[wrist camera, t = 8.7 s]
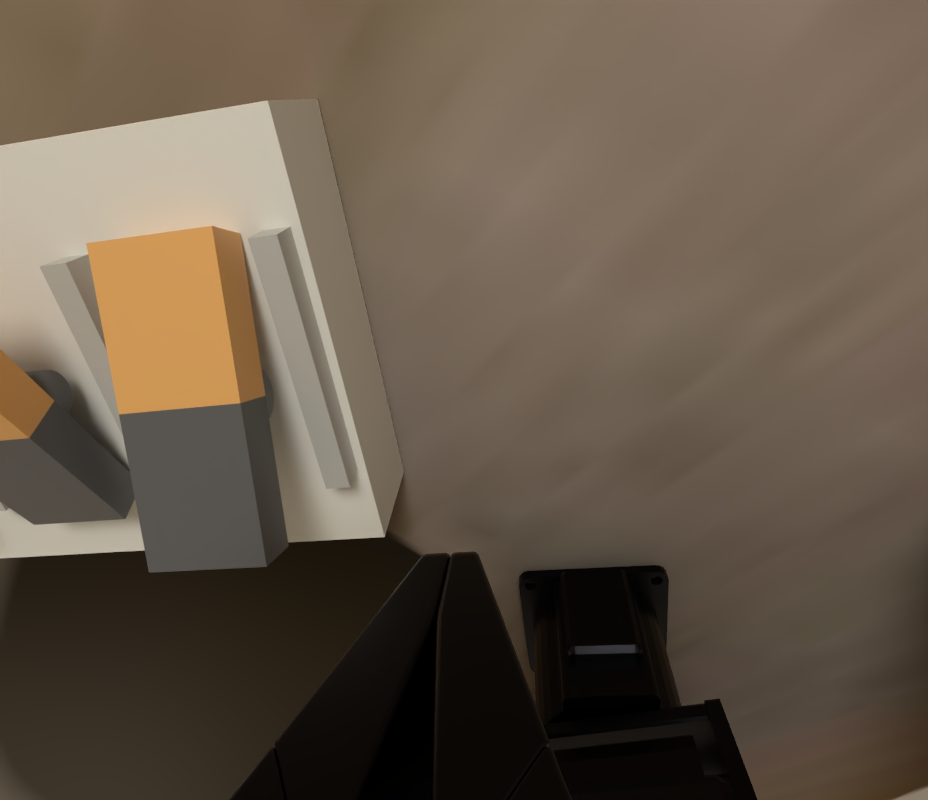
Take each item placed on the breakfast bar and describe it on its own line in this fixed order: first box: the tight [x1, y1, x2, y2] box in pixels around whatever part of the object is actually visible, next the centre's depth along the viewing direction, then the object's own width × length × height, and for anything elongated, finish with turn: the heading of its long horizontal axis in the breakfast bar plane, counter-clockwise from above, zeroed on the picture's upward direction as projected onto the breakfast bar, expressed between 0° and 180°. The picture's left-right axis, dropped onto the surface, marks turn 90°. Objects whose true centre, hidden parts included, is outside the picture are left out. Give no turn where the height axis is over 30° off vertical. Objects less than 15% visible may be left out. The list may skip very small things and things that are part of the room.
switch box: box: [0, 99, 404, 558], centre depth 20 cm, size 14×20×5 cm
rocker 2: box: [86, 226, 289, 572], centre depth 16 cm, size 9×4×2 cm, turn 8°
